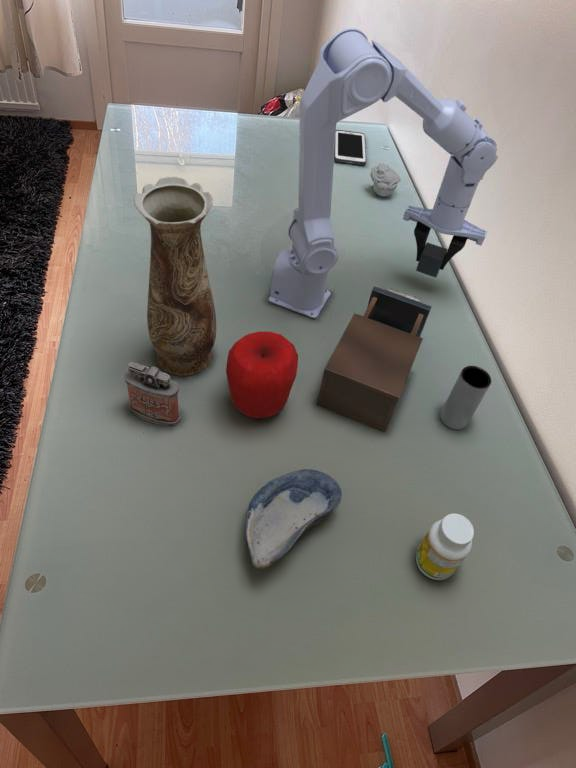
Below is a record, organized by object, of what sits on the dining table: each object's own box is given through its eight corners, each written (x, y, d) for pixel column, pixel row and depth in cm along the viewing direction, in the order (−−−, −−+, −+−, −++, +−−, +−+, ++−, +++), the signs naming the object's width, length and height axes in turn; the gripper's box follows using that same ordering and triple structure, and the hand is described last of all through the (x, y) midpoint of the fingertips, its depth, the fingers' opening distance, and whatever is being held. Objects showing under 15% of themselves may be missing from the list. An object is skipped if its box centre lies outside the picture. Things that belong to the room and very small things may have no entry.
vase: (227, 348, 99) (232, 189, 76) (194, 391, 92) (189, 231, 69) (173, 325, 101) (163, 164, 78) (137, 366, 94) (114, 203, 71)
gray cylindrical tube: (434, 417, 94) (455, 375, 86) (449, 402, 96) (471, 360, 88) (458, 434, 92) (481, 393, 84) (473, 419, 94) (497, 377, 87)
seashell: (340, 586, 74) (347, 570, 71) (241, 580, 74) (243, 564, 70) (335, 481, 84) (341, 462, 81) (248, 475, 84) (250, 456, 80)
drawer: (373, 300, 109) (381, 272, 104) (426, 320, 107) (437, 291, 102) (342, 359, 99) (350, 330, 93) (401, 382, 97) (412, 354, 92)
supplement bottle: (441, 589, 76) (466, 558, 68) (406, 562, 78) (427, 529, 70) (461, 560, 79) (487, 527, 71) (427, 534, 80) (449, 500, 73)
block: (415, 270, 110) (421, 253, 107) (421, 259, 113) (426, 242, 110) (436, 277, 109) (442, 260, 106) (441, 266, 112) (447, 249, 109)
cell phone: (334, 162, 141) (334, 158, 140) (334, 132, 151) (335, 129, 150) (365, 166, 141) (366, 162, 141) (364, 136, 151) (365, 132, 150)
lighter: (184, 413, 89) (182, 370, 82) (174, 430, 87) (171, 387, 79) (136, 396, 90) (129, 352, 83) (125, 413, 88) (117, 369, 81)
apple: (260, 368, 97) (267, 307, 86) (304, 406, 93) (317, 347, 82) (211, 400, 91) (211, 339, 81) (255, 442, 87) (261, 383, 77)
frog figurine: (366, 184, 136) (372, 156, 131) (396, 189, 136) (403, 161, 131) (365, 199, 132) (371, 170, 127) (395, 204, 132) (403, 176, 127)
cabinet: (345, 349, 102) (354, 312, 95) (408, 373, 99) (423, 338, 93) (316, 404, 93) (324, 368, 86) (385, 432, 91) (399, 397, 84)
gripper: (500, 200, 101) (472, 263, 111) (419, 174, 103) (399, 238, 114) (492, 221, 96) (464, 284, 107) (408, 193, 99) (389, 258, 109)
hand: (430, 262), depth 110 cm, fingers closed on block, 4 cm apart
